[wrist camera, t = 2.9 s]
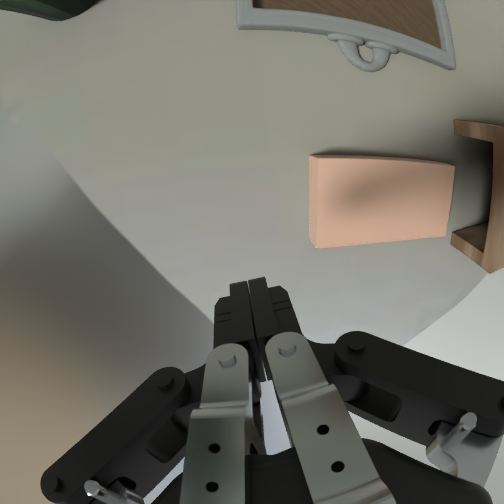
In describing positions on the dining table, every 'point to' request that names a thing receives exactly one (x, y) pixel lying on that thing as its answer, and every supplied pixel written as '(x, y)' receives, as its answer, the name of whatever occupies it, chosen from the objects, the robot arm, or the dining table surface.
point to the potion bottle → (47, 8)
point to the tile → (377, 199)
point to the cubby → (500, 221)
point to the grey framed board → (361, 26)
